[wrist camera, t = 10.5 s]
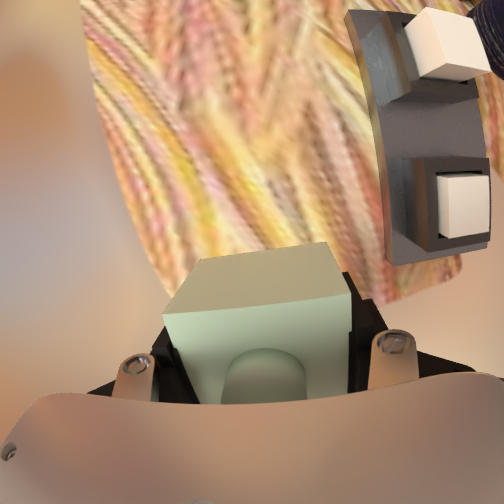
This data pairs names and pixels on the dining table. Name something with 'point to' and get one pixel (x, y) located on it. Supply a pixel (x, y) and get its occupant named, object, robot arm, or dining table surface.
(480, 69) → the breaker button
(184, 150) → the dining table surface
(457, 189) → the tagged breaker button
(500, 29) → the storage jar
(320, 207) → the dining table surface
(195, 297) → the cap
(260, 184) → the dining table surface
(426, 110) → the breaker board
